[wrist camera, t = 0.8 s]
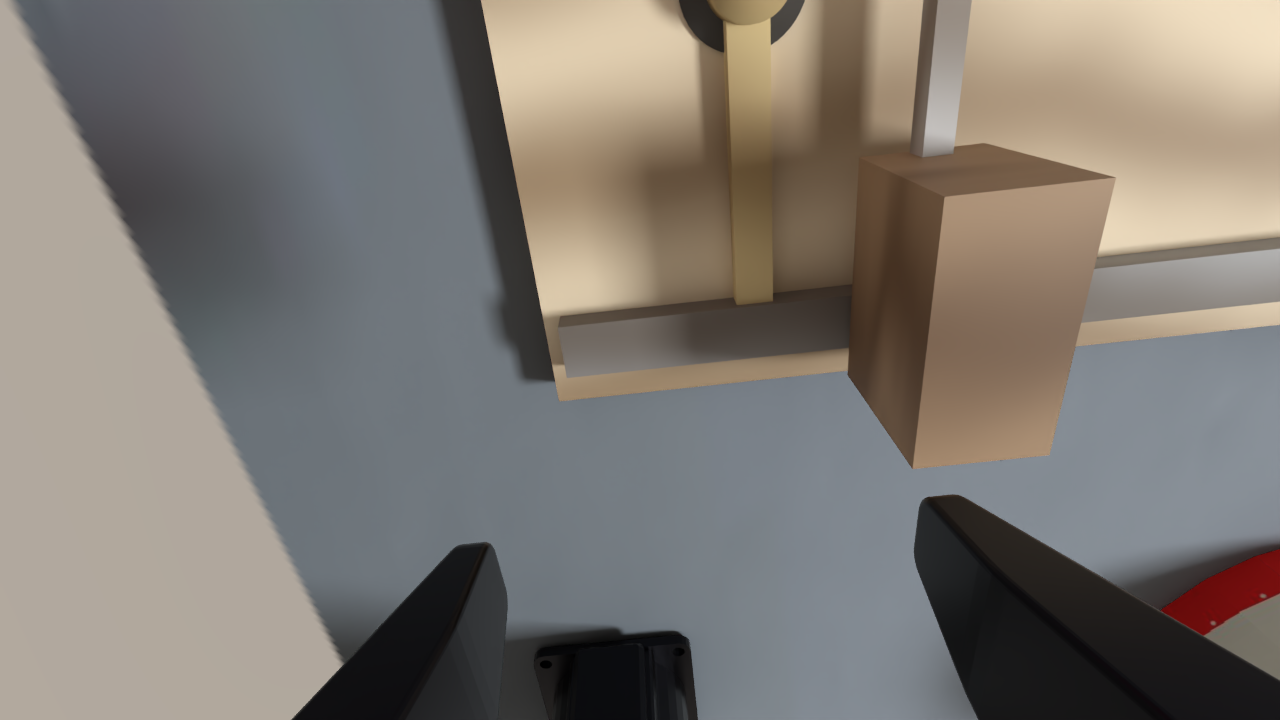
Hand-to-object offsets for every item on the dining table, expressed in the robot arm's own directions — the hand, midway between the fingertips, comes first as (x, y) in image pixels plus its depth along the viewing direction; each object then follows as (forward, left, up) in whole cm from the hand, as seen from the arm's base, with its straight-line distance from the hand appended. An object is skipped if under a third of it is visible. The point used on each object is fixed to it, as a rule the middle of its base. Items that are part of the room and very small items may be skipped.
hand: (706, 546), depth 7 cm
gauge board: (+3, -9, -12) cm, 15 cm away
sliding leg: (+2, -7, -10) cm, 12 cm away
